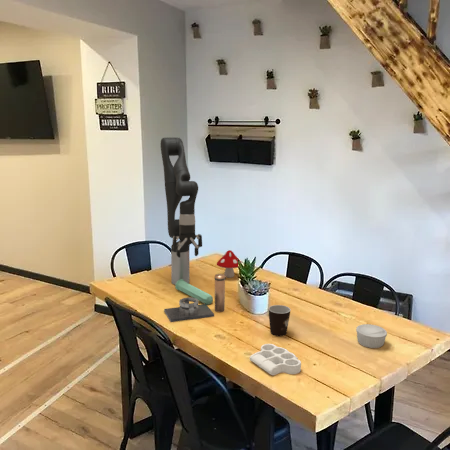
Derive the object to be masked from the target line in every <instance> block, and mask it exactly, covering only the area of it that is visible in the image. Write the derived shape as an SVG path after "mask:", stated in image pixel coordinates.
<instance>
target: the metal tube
mask: <svg viewBox="0 0 450 450" xmlns="http://www.w3.org/2000/svg"><path fill="white" fill-rule="evenodd" d="M225 296H226V277H225V275H224V273H217V274H215V275H214V312H216V313H224V312H225V309H226V307H225V306H226V305H225V301H226V300H225V299H226V297H225Z"/></svg>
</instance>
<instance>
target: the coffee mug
mask: <svg viewBox="0 0 450 450" xmlns="http://www.w3.org/2000/svg"><path fill="white" fill-rule="evenodd" d="M291 310H292V309H291V308H290V307H289V306H287V305H282V304H281V305H280V304H274V305H270V306H269V307H268V320H269V332H270V334H271V335H272V336H274V337H284V336H287V335H288V334H287V332H288V327H289V323H290V322H289V321H290V315H291Z"/></svg>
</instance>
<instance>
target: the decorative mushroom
mask: <svg viewBox="0 0 450 450" xmlns="http://www.w3.org/2000/svg"><path fill="white" fill-rule="evenodd" d="M237 259H238V260H239V261H240V262H241V263H243V262H242V261H241V259H239V258H238V256H237V255H236V254H235V253H234V251H232V250H229V249H228V250H227V251H226V252H224V253H223V255H222V257H220V259H218V260H217V262H216V266H218V267H219V268H222V269H225V270H224V273H223V274H224V275H225V278H229V279H230V278H231V279H232V278H234V277H235V270H234V269H236V268H239V267H238V260H237Z"/></svg>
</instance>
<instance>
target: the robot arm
mask: <svg viewBox="0 0 450 450" xmlns="http://www.w3.org/2000/svg"><path fill="white" fill-rule="evenodd" d="M160 152H161V153H160V154H161V159H162V167H163V177H164V180H163V181H164V189H165V190H164V191H165V198H166V199H165V200H166V209H167V234H168V236H169V237H170V238H171V239H172V244H171V246H170V253H171V254H170V257H171V262H170V263H171V264H170V265H171V267H170V269H171V272H170V273H171V276H170V277H171V284H172V285H176V282H177V281H178V280H181V279H183V280H184V281H185V282H187V283H188V284H190V245H193V246H194V256H195V257H198V255H199V248H202V247H203V236H202V234H200V233H198V234H196V216H195V215H196V214H195V213H196V212H195V210H196V209H195V205H196V199H197V197H198V192H199V185H198V183H197V182H196V181H195V180H191V173H190V171H189V168H188V165H187V159H186V158H187V157H186V153H185V147H184V143H183V140H182V138H180V137H162V138H161V140H160ZM175 156H177V160H176V161H175V163H174V165H173V164H172V161H171V158H170V157H175ZM183 197H188V199H186V200H183V201H182V199H183ZM178 206H179V217H178V218H177V219H176V217H175V216H176V211H177V208H178ZM196 239H197V242H196V241H195V240H196Z"/></svg>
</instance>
